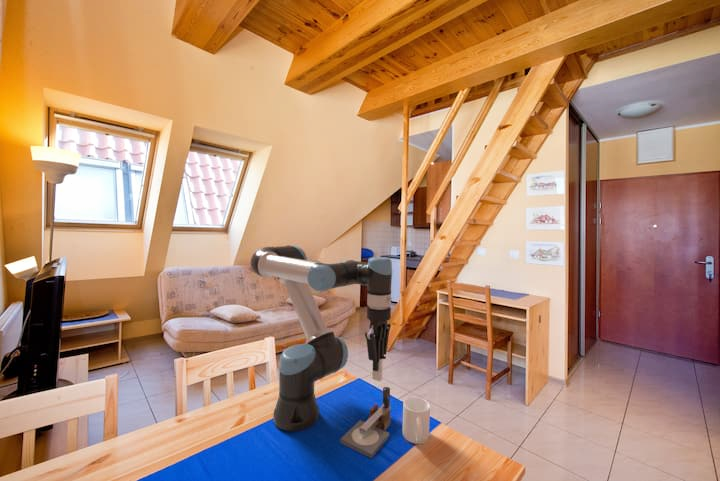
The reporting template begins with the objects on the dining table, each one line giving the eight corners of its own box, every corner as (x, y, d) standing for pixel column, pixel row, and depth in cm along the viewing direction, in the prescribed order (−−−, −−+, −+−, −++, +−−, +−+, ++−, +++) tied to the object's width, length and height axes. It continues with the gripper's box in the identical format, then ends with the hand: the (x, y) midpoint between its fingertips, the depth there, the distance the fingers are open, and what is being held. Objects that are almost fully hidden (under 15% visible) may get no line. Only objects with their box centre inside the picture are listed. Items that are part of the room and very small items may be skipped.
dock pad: (340, 442, 95) (340, 438, 95) (359, 423, 104) (359, 419, 104) (371, 458, 89) (371, 453, 89) (389, 436, 98) (389, 432, 98)
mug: (433, 455, 91) (434, 420, 90) (404, 453, 91) (405, 419, 91) (426, 428, 103) (427, 397, 102) (401, 426, 103) (402, 396, 103)
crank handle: (359, 433, 96) (360, 408, 95) (384, 407, 109) (385, 386, 109) (366, 436, 94) (366, 411, 94) (390, 410, 108) (391, 388, 107)
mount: (368, 424, 104) (369, 409, 104) (374, 417, 107) (375, 403, 107) (384, 430, 101) (385, 415, 100) (390, 424, 104) (390, 409, 104)
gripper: (379, 313, 92) (377, 391, 93) (398, 304, 103) (396, 374, 104) (357, 308, 96) (356, 384, 97) (378, 300, 107) (377, 368, 108)
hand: (377, 379), depth 100 cm, fingers closed
